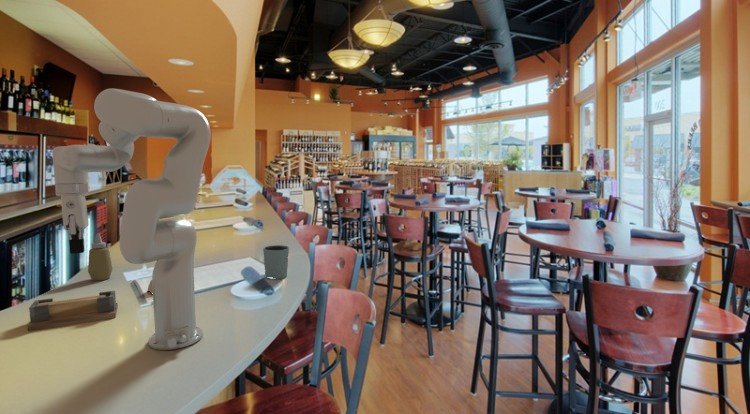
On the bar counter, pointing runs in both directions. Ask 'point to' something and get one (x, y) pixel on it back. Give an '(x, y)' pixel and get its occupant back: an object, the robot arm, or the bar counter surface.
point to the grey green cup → (276, 261)
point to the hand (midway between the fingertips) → (77, 252)
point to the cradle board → (42, 318)
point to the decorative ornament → (150, 287)
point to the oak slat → (72, 306)
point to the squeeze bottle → (99, 260)
